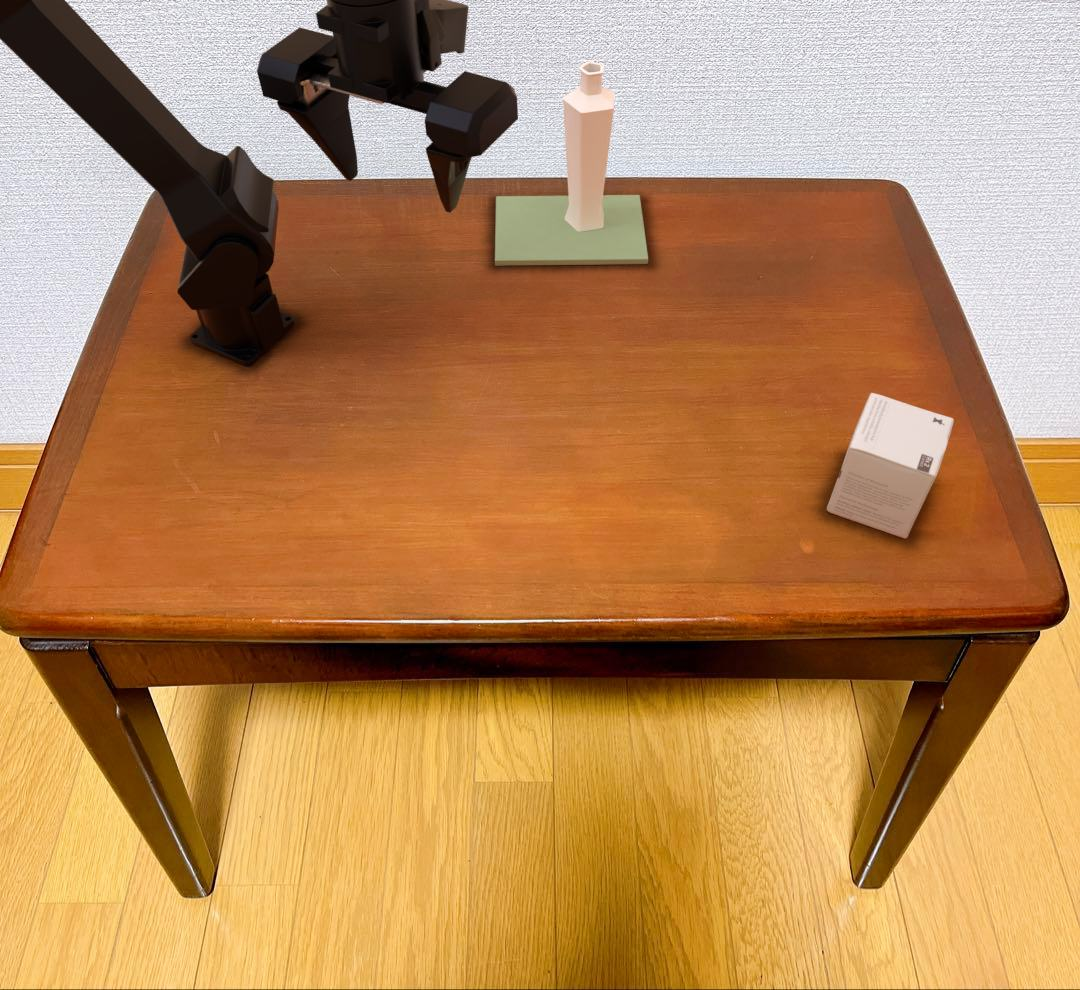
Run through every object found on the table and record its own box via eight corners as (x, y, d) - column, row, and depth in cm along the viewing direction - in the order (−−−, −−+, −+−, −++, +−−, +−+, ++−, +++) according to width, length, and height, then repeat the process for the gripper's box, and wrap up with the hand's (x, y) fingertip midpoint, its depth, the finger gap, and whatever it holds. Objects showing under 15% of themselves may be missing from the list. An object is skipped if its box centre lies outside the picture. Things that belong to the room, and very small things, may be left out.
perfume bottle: (620, 223, 96) (631, 71, 84) (582, 239, 94) (588, 86, 82) (592, 199, 98) (599, 48, 86) (554, 214, 97) (556, 62, 85)
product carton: (845, 457, 78) (869, 389, 72) (925, 483, 76) (956, 415, 70) (824, 513, 74) (848, 446, 69) (907, 542, 73) (938, 475, 67)
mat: (495, 265, 93) (494, 260, 92) (496, 201, 99) (496, 196, 98) (647, 264, 93) (648, 258, 92) (639, 199, 99) (639, 194, 99)
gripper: (554, -37, 67) (557, 170, 79) (327, -86, 73) (362, 113, 85) (465, 38, 61) (484, 249, 73) (226, -22, 67) (280, 182, 79)
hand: (401, 193), depth 78 cm, fingers open, 9 cm apart
